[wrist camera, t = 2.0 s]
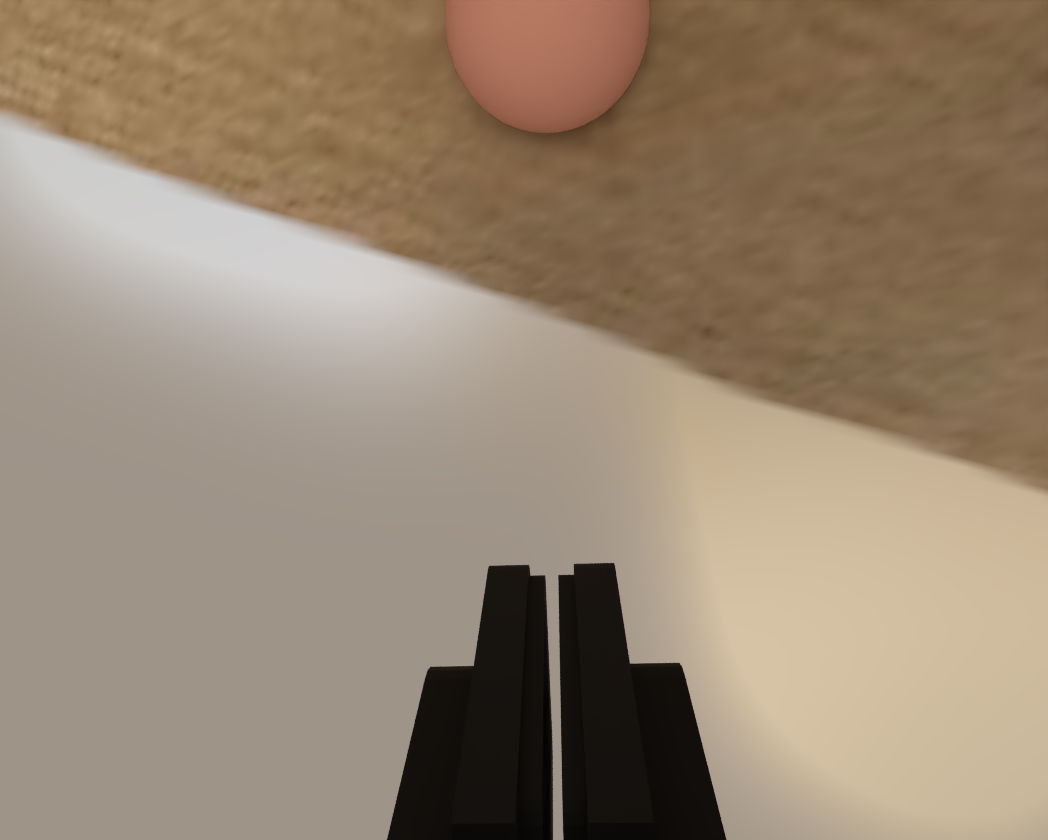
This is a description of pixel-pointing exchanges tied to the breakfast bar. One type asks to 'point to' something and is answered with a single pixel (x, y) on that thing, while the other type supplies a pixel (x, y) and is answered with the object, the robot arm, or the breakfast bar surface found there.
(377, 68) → the breakfast bar surface
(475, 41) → the pink smooth round ball
